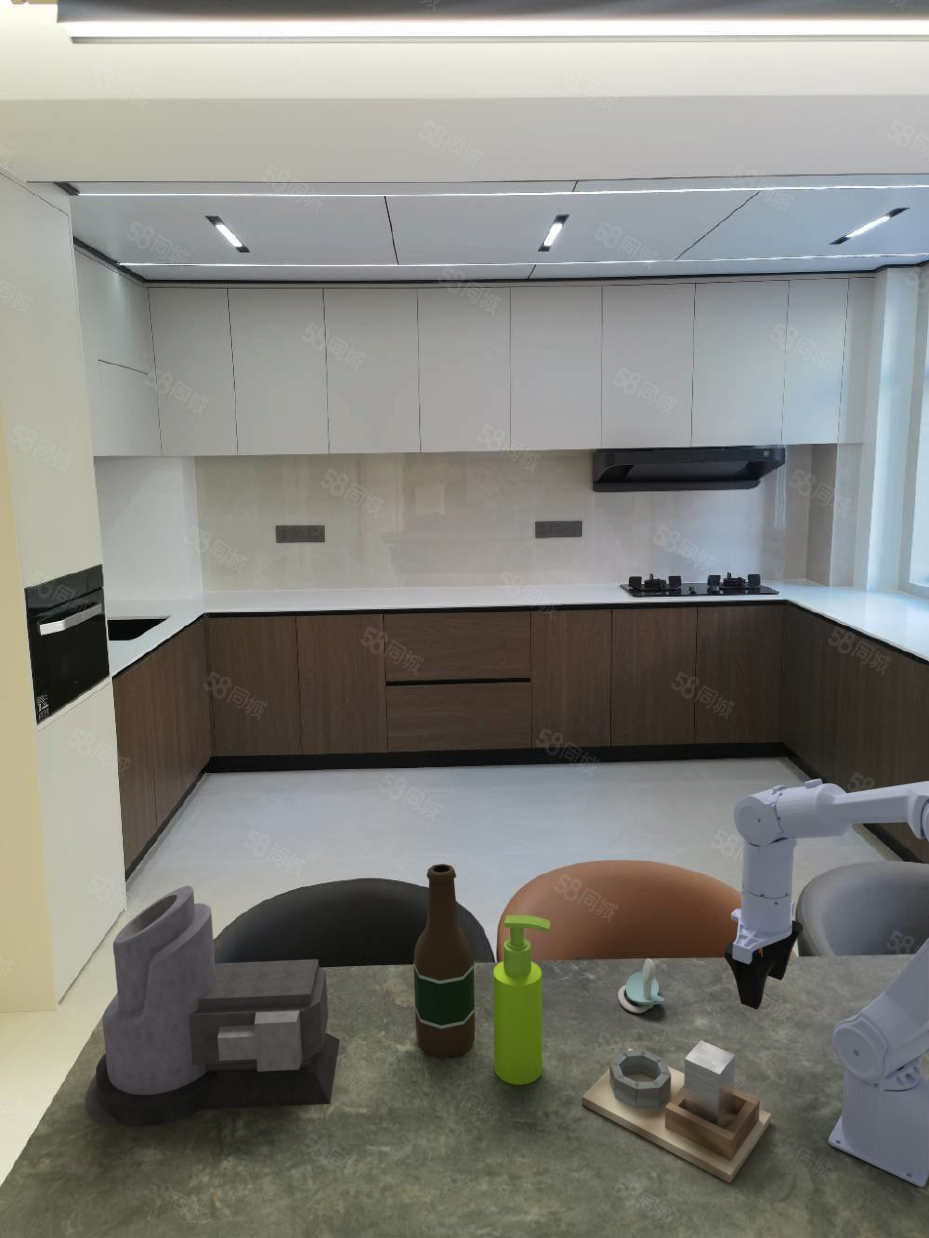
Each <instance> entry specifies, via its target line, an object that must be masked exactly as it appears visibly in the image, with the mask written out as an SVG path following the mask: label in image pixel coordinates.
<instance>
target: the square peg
mask: <svg viewBox="0 0 929 1238" xmlns="http://www.w3.org/2000/svg"><path fill="white" fill-rule="evenodd" d="M735 1057H736V1054H733V1053H732V1052H730V1051H729V1052H728V1051H726V1050H725V1049H722V1048H719V1047H718V1046H715V1045H713V1044H711V1043H708V1042H706V1041H703V1040H700V1041H698V1042H697V1044H696V1045H695V1046H694V1047H693V1048H692V1050H691V1051H690V1052H689V1053H688V1054H687V1056H686V1057H685V1058H684V1109H685V1110H687V1111H689V1112H691V1113H693V1114H695V1115H697V1116H699V1117H701V1118H703V1119H705V1120H707V1121H709V1122H711V1123H713V1124H715V1125H717V1126H719V1127H721V1128H723V1129H725V1130H726V1128H727V1127H728V1125H729V1124H730V1123H731V1121H732V1120H733V1094H734V1088H735V1085H734V1084H735V1065H736V1063H735V1060H736V1058H735Z"/></svg>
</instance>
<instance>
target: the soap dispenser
mask: <svg viewBox="0 0 929 1238" xmlns="http://www.w3.org/2000/svg"><path fill="white" fill-rule="evenodd" d="M550 927H551V921H550V920H548V919H545V918H542V917H538V916H533V915H525V914H524V915H523V914H520V915H519V914H518V915H517V914H511V915H509V914H508V915H507V914H506V918H505V921H504V928H509V938H508V939H506V940H505V941H504V943H503V945H502V947H503V948H502V949H503V950H502V951H503V956H502V957H503V959H502V961H500V962H499V963H497V964H496V965H495V966H494V969H493V970H492V971H493V973H492V974H493V976H492V977H493V1030H494V1032H493V1033H494V1034H493V1035H494V1037H493V1041H494V1042H493V1043H494V1045H493V1046H494V1048H493V1049H494V1072H495V1073H496V1076H497V1077H498V1078H499V1079H500V1080H502V1082H505V1083H507V1084H510V1085H515V1086H522V1085H528V1084H531V1083H533V1082H535V1081H537V1080H538V1079H539V1078H540V1077H541V1075H542V1072H543V1004H542V1003H543V992H542V991H543V986H542V984H543V979H542V978H543V975H542V974H543V973H542V969H541V967H540V966H539V965H538V964H537V963H536V962H534V961H532V945H531V944H532V943H531V942H530V941H529V940H528V939H526V938H525V929H533V930H537V931H542V932H544V933H547V932H548V931H549V930H550Z"/></svg>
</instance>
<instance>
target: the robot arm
mask: <svg viewBox="0 0 929 1238" xmlns="http://www.w3.org/2000/svg"><path fill="white" fill-rule="evenodd" d="M733 808H734V809H733V821H734V825H735V828H736V830H737V832H738V834H739V835H740V836H741V837H742V839H743V841H742V842H743V843H742V868H741V869H742V870H741V900H740V902H741V904H740V908H736V909H734V911H732V912H731V914H730V915H731V916H730V917H731V920H733V921H735V922H737V923H738V925H737V933H736V939H735V940H734V942H732V941H731V942H729V943H728V944H727V945H726V946H725V947H724V949H723V957H724V959H725V961H726V962H727V963H728V965H729V967H730V969H731V971H732V973H733V976H734V980H735V985H736V987H737V992H738V996H739V1000H740V1003H741V1005H744V1006H747V1007H748V1008H751V1009H754V1010H759V1008H760V1006H761V1004H762V1001H763V996H764V991H765V986H766V982H767V978H768V977H770V978H772V979H776V980H778V981H782V980H783V979H784V977H785V974H786V971H787V967H788V964H789V961H790V957H791V954H792V951H793V948H794V946H795V944H796V942H797V940H798V938H799V936H800V935H801V933H802V932H803V930H804V925H803V924H802V923H801V922H799V921H796V920H794V919H793V916H794V915H795V900H793V899H792V898H793V897H792V896H793V895H792V893H793V872H794V849H795V847H797V844H798V840H799V839H802V840H803V839H814V838H832V837H833V838H834V837H841V836H844V835H846V834H847V833H848V831H850V829H851V827H852V825H853V824H884V823H886V824H887V823H888V824H889V823H907V824H908V825H909V827H910V829H911V830H912V833H913V835H914V836H915V838H917V839H919V840H922V839H925V838H926V839H927V841H928V843H929V780H925V781H919V782H912V783H905V784H899V785H893V786H887V787H880V788H873V789H867V790H860V791H855V792H854V791H853V792H848V793H847V792H846V791H845V790H844V789H843V788H842V787H840V786H839V785H838V784H834V783H823V780H822V779H821V778H817V779H811V780H808V781H805V782H804V786H797V787H789V788H787V786H786V784H780V785H777V786H773V787H772V788H770V789H766V790H764V791H759V792H757V793H754V794H749V795H746V796H745V797H742V798H740V799H739V800H738V801H737V802H736V804H735V805H734V807H733ZM760 949H761V952H760ZM831 1042H832V1047H833V1051H834V1052H835V1055H836V1057H837V1058H838V1060H839V1062H840V1064H841V1065H842V1068H843V1070H844V1073H843V1074H844V1075H843V1088H842V1089H843V1090H842V1091H843V1092H842V1109H841V1115H840V1117H839V1119H838V1120H837V1123H836V1124H835V1125H834V1128H833V1129H832V1132H830V1135H829V1136H828V1144H830V1146H832V1147H833V1148H836V1149H838V1150H841V1151H843V1152H845V1153H848V1154H849V1155H851V1156H853V1157H856V1158H858V1159H860V1160H862V1161H864V1162H866V1163H868V1164H871V1165H873V1166H875V1167H876V1168H879V1169H881V1170H883V1171H886V1172H888V1173H890V1174H892V1175H894V1176H896V1177H898V1178H901V1179H903V1180H905V1181H908V1182H909V1183H911V1184H913V1185H915V1186H917V1187H920V1188H921V1187H922V1188H923V1187H925V1186H926V1184H927V1181H928V1179H929V1079H928V1078H927V1077H926V1076H924V1075H923V1074H922V1073H921V1067H922V1062H923V1061H922V1060H923V1056H922V1055H925V1054H928V1053H929V937H928V938H927V939H926V940H925V942H924V943H923V944H922V945H921V947H919V949H917V952H915V954H913V956H912V958H911V959H910V960H909V961H908V962H907V964H906V965H904V967H903V968H902V970H900V972H899V973H898V975H897V976H896V977H895V978H894V979H893V981H892V982H891V983H890V984H889V985H888V986H887V988H886V989H885V990H884V991H883V992H882V993H881V994H880V995H878V996H877V997H876V998H875V999H873V1000H872V1001H871V1002H869V1003H868V1004H867V1005H866V1006H865V1007H864V1008H862V1009H860V1011H859V1012H858V1013H857V1014H855V1015H853V1016H851V1017H849V1018H845V1019H842V1020H840V1021H838V1022H837V1023H836V1024H835V1026H833V1029H832V1033H831Z"/></svg>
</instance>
